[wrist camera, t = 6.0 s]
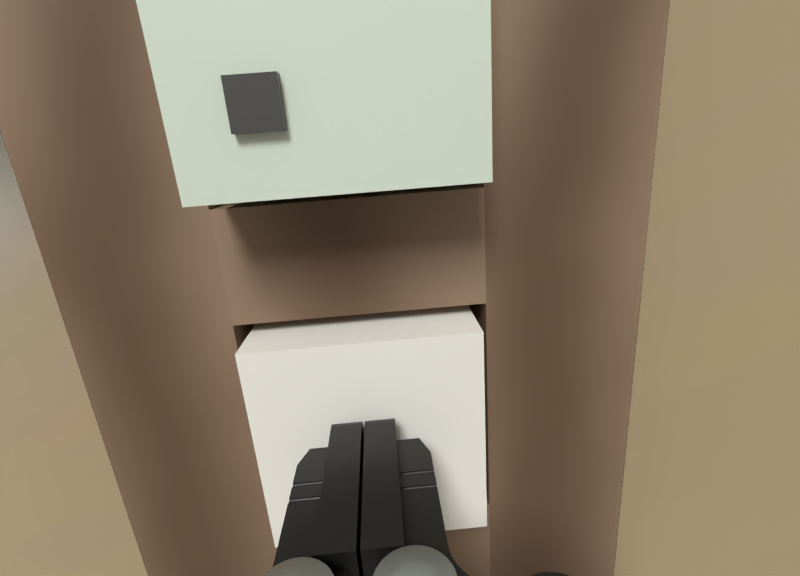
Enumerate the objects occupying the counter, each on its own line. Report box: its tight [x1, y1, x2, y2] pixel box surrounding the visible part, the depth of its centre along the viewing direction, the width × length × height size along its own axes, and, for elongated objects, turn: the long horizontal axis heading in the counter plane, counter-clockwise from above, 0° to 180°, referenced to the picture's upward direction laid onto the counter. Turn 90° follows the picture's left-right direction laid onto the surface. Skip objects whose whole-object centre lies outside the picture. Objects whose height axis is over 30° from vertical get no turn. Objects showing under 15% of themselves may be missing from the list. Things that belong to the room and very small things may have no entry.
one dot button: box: [235, 305, 487, 548], centre depth 12 cm, size 6×6×4 cm
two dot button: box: [136, 0, 493, 207], centre depth 9 cm, size 6×6×4 cm
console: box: [0, 0, 670, 576], centre depth 14 cm, size 14×27×5 cm, turn 4°
